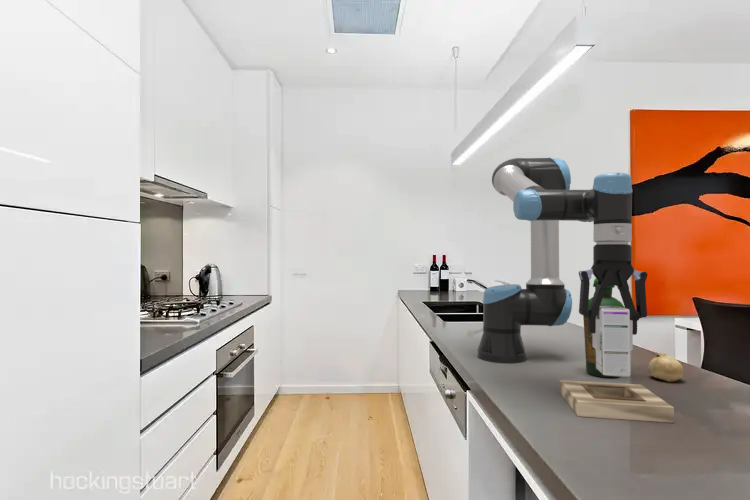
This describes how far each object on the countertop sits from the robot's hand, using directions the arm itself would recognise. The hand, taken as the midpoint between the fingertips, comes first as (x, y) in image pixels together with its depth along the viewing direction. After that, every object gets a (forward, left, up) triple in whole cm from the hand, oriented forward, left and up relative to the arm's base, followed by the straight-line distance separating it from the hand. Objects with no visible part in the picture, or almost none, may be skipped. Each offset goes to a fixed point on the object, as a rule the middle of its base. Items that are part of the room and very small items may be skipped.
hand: (612, 348), depth 99 cm
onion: (-26, +22, -13) cm, 37 cm away
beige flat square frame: (0, 0, -13) cm, 13 cm away
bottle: (-28, +7, -13) cm, 32 cm away
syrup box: (0, 0, -6) cm, 6 cm away
